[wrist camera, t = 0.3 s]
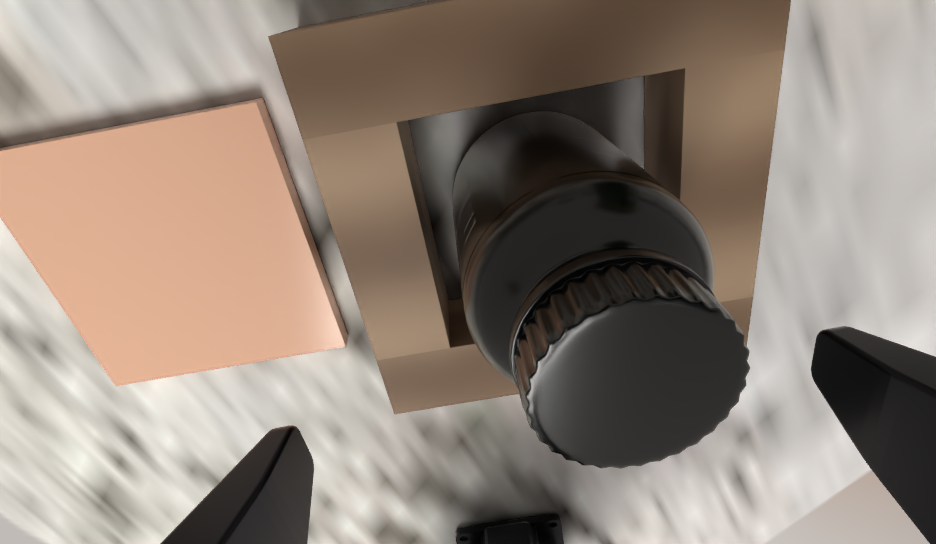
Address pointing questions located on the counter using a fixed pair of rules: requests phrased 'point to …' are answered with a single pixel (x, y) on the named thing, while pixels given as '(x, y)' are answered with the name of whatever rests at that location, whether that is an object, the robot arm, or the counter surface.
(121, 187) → the terracotta coaster
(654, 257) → the supplement bottle
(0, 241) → the counter surface
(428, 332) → the walnut caddy
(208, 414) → the counter surface
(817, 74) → the counter surface
